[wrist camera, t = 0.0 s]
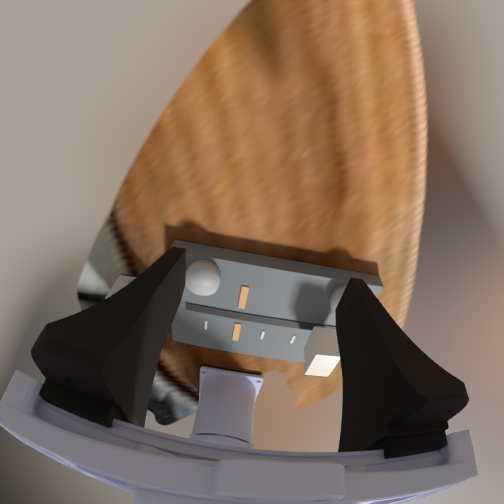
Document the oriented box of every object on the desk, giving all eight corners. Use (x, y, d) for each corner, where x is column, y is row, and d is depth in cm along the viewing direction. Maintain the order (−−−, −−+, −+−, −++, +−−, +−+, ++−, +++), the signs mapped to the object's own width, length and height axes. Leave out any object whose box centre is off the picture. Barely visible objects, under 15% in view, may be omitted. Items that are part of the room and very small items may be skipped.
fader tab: (324, 340, 28) (328, 376, 24) (303, 337, 28) (304, 374, 24) (336, 319, 26) (341, 356, 22) (313, 316, 26) (316, 354, 22)
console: (334, 354, 32) (336, 374, 30) (175, 330, 31) (169, 349, 29) (379, 275, 25) (386, 296, 23) (174, 239, 24) (164, 258, 22)
